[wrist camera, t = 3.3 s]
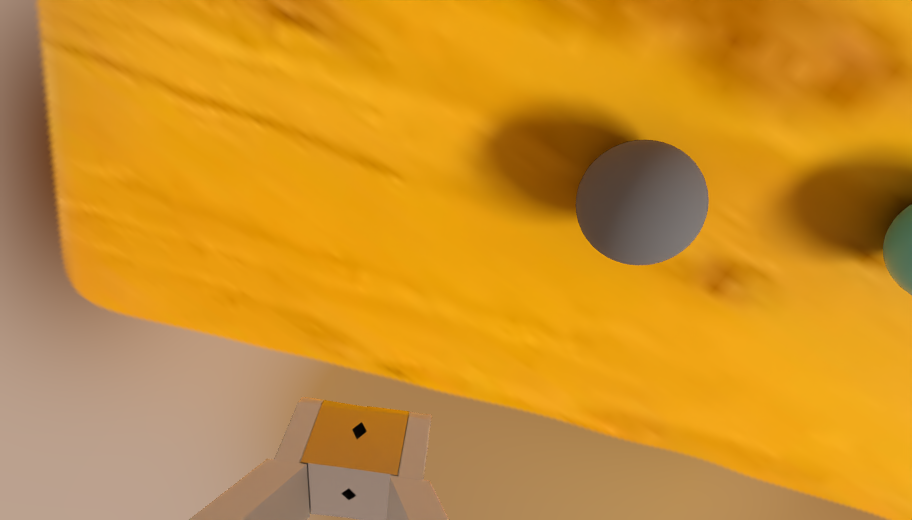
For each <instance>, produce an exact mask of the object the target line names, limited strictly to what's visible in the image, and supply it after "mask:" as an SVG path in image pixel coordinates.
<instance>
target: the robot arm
mask: <svg viewBox="0 0 912 520" xmlns="http://www.w3.org/2000/svg"><path fill="white" fill-rule="evenodd" d="M430 426H431V415H429V414H421V413H413V412H410V414H409V411H402V410H393V409H386V408H378V407H370V406H367V407H363V406H357V405H351V404H345V403H339V402H333V401H327V400H320V399H313V398H306V397H302V398H301V399H300V401H299V402H298V404H297V406H296V408H295V411H294V413H293V415H292V418H291V420H290V423H289V425H288V428H287V430H286V432H285V435H284V437H283V439H282V442H281V444H280V447H279V449H278V452H277V454H276V456H275V458H274V459H266V460H265V461H264V462H263V463H262V464H260V465H259V466H257V467H256V468H255V469H254V470H252V471H251V472H250V473H248V474H247V475H246V476H245V477H243V478H242V479H241V480H239V481H238V482H237V483H236V484H234V485H233V486H232V487H231V488H229V489H228V490H227V491H225V492H224V493H223V494H221V495H220V496H219V497H218V498H216V499H215V500H214V501H212V502H211V503H210V504H209V505H207V506H206V507H205V508H203V509H202V510H201V511H200V512H198V513H197V514H196V515H194V516H193V517H192V518H191V519H189V520H307V519H308V518H309V517H310V514H318V515H327V516H336V517H346V518H353V519H359V520H449V519H448V517H447V515H446V512H445V510H444V508H443V506H442V504H441V502H440V500H439V498H438V496H437V494H436V492H435V490H434V489H433V486H432V484H431V482H430V481H427V480H423V478H424V472H425V464H426V457H427V449H428V441H429V434H430Z"/></svg>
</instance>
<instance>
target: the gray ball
mask: <svg viewBox="0 0 912 520" xmlns="http://www.w3.org/2000/svg"><path fill="white" fill-rule="evenodd" d="M707 211H708V190H707V186H706V182H705V179H704V177H703V175H702V173H701V171H700V169H699V168H698V166H697V165H696V163H695V162H694V161H693V160H692V159H691V158H690V157H689V156H688V155H687V154H685V153H684V152H683V151H681V150H680V149H678V148H676V147H674V146H672V145H669V144H667V143H664V142H659V141H653V140H635V141H629V142H626V143H622V144H620V145H617V146H615V147H613V148H611V149H609V150H607V151H606V152H604V153H603V154H602V155H600V156H599V157H598V158H597V159H596V160H595V161H594V162H593V163H592V164H591V165H590V166H589V168H588V169H587V171H586V172H585V174H584V176H583V178H582V180H581V182H580V185H579V187H578V192H577V197H576V213H577V218H578V222H579V225H580V227H581V230H582V232H583V234H584V235H585V237H586V239H587V240H588V241H589V242H590V243H591V245H592V246H593V247H594V248H595V249H597V250H598V251H599V252H600V253H602V254H603V255H605V256H606V257H608V258H610V259H612V260H615V261H618V262H621V263H625V264H630V265H649V264H655V263H659V262H662V261H665V260H667V259H670V258H672V257H674V256H675V255H677V254H679V253H680V252H681V251H683V250H684V249H685V248H686V247H688V246H689V245H690V243H691V242H692V241H693V240H694V239H695V238H696V236H697V235H698V233H699V232H700V230H701V228H702V226H703V224H704V221H705V218H706V215H707Z"/></svg>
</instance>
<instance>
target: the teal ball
mask: <svg viewBox="0 0 912 520" xmlns="http://www.w3.org/2000/svg"><path fill="white" fill-rule="evenodd" d="M883 256H884V261H885V264H886V267H887V269H888V271H889V273H890V275H891V276H892V278H893V279H894V280H895V281H896V282H897V284H898V285H899V286H900V287H901V288H903V289H904V290H905V291H907V292H908V293H909V294H910V295H912V204H911V205H909V206H908V207H907V208H905V209H904V210H903V211H902V212H901V213H900V214H899V215H898V216H897V217H896V218H895V219H894V220H893V222H892V223H891V225H890V227H889V228H888V230H887V233H886V235H885V238H884V244H883Z"/></svg>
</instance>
